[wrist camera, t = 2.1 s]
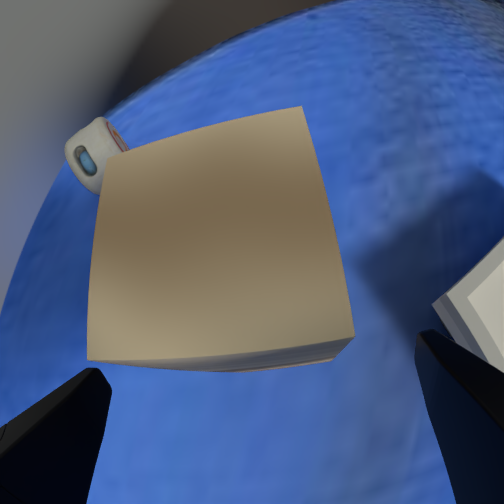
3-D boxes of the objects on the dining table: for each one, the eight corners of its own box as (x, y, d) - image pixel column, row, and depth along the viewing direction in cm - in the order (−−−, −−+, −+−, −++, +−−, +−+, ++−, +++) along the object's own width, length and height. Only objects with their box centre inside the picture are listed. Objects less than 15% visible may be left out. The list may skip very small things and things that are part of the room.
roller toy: (104, 214, 24) (60, 177, 19) (91, 168, 27) (56, 133, 21) (146, 183, 24) (108, 139, 19) (128, 141, 27) (96, 101, 21)
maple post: (331, 360, 16) (355, 336, 5) (243, 372, 17) (86, 360, 5) (318, 276, 18) (301, 106, 7) (235, 289, 19) (107, 158, 7)
